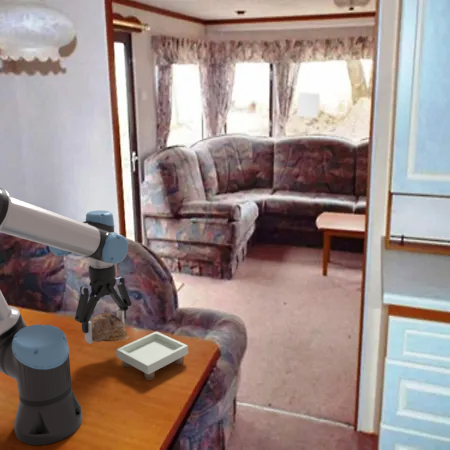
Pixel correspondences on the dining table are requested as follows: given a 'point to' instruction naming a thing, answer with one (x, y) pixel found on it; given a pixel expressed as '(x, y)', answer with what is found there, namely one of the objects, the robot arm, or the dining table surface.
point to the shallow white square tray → (152, 353)
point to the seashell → (108, 328)
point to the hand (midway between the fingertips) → (105, 335)
